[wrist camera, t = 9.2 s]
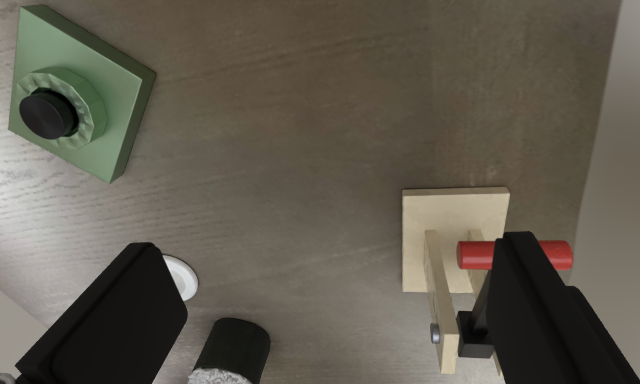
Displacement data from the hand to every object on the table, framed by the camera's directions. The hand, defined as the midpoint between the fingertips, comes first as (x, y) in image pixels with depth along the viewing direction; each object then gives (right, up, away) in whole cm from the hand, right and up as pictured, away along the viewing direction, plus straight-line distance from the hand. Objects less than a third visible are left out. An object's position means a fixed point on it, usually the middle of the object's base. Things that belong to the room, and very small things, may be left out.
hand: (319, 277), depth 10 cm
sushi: (-11, -17, +38) cm, 43 cm away
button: (-22, +9, +20) cm, 31 cm away
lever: (+11, -4, +13) cm, 17 cm away
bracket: (+13, -2, +25) cm, 28 cm away
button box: (-21, +11, +23) cm, 33 cm away
